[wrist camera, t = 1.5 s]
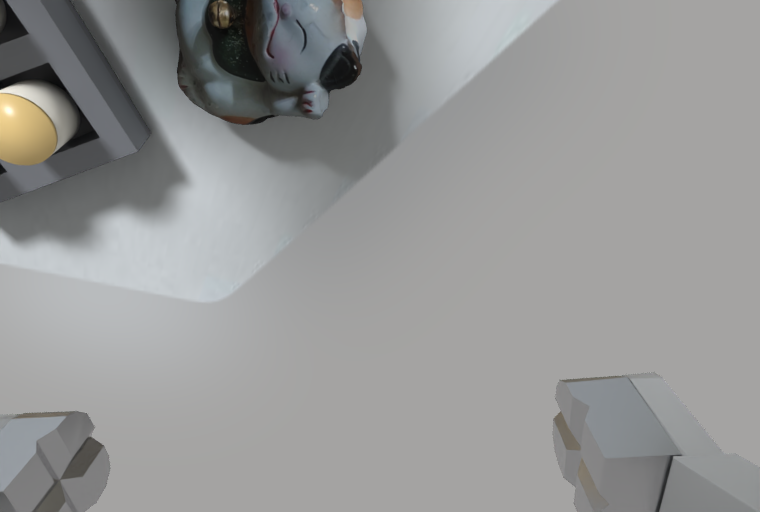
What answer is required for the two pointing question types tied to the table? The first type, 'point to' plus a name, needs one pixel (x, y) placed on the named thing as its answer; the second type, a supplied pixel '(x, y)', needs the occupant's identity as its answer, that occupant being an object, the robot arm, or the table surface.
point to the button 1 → (2, 15)
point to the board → (78, 79)
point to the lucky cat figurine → (267, 55)
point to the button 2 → (35, 121)
